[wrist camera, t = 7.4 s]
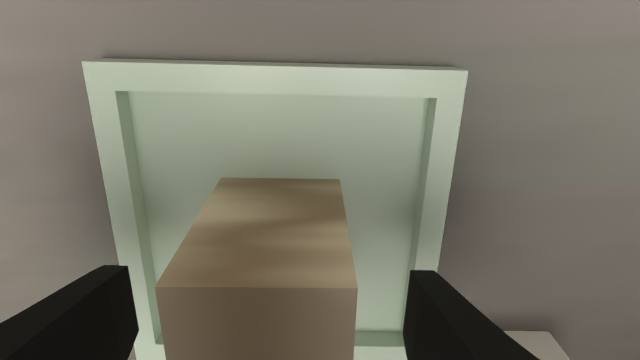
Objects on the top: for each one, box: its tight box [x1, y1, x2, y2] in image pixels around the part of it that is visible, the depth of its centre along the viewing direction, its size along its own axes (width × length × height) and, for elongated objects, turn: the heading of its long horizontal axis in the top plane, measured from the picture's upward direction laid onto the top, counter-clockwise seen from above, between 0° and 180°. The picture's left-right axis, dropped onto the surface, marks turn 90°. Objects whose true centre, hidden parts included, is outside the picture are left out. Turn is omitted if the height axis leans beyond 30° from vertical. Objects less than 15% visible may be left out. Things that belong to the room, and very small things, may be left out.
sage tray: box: [82, 58, 468, 360], centre depth 14 cm, size 11×11×1 cm
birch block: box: [155, 178, 358, 360], centre depth 11 cm, size 4×4×6 cm
